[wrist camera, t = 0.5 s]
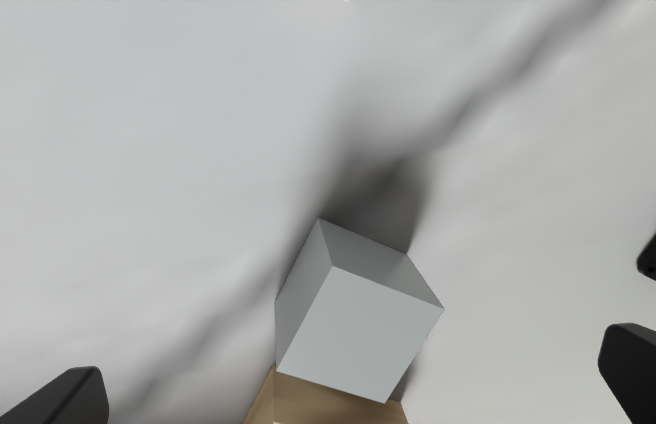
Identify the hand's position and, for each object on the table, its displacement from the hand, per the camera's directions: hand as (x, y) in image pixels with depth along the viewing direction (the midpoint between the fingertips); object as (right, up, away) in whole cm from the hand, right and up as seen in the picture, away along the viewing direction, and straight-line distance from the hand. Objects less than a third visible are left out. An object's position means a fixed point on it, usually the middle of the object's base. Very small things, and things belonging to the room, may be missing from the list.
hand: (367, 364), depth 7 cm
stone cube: (0, -1, +14) cm, 14 cm away
